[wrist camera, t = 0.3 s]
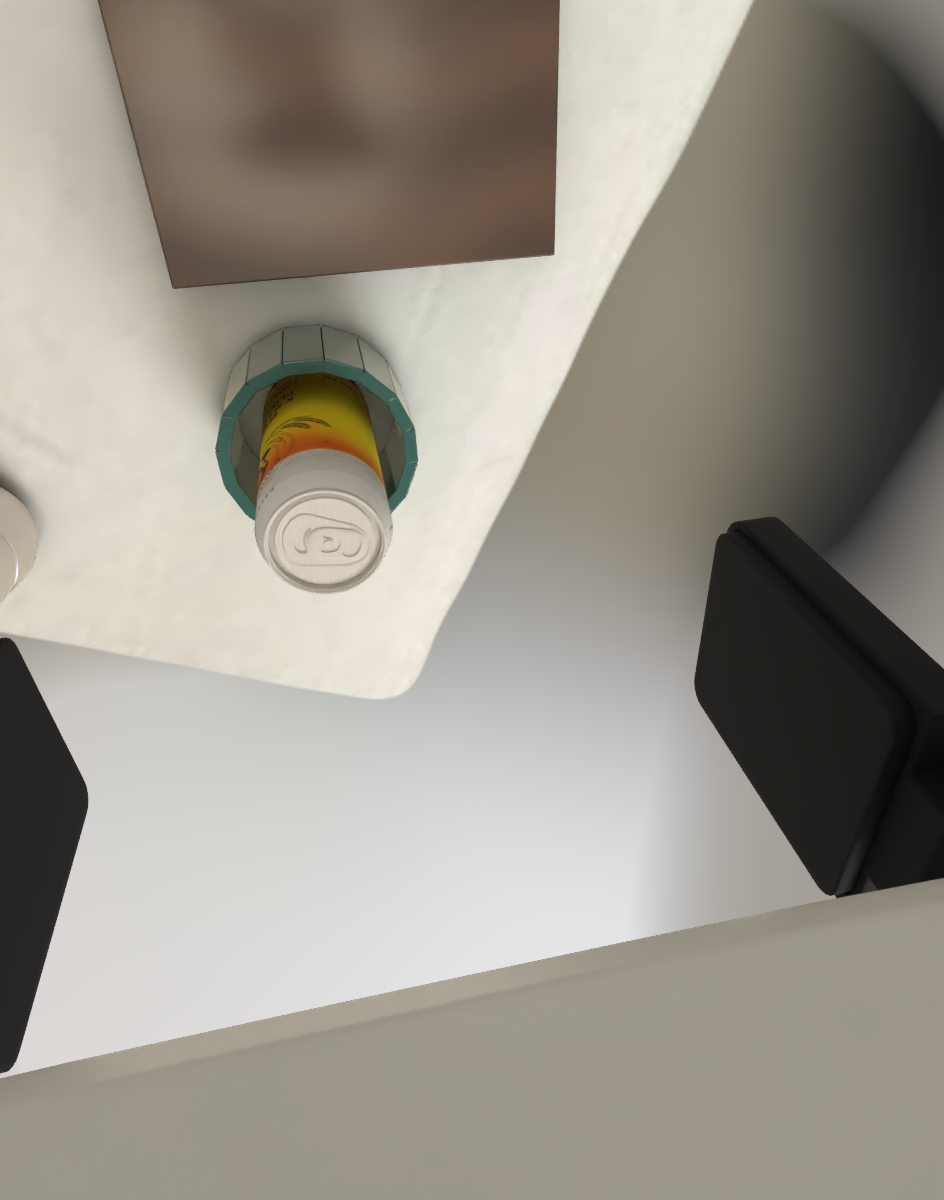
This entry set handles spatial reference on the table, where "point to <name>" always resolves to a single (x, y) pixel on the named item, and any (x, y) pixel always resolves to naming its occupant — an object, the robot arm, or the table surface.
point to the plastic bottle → (15, 542)
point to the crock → (307, 355)
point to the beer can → (320, 486)
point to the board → (340, 132)
